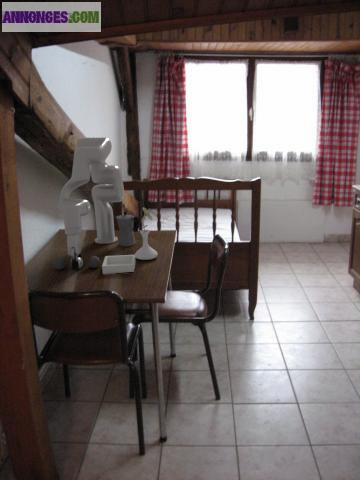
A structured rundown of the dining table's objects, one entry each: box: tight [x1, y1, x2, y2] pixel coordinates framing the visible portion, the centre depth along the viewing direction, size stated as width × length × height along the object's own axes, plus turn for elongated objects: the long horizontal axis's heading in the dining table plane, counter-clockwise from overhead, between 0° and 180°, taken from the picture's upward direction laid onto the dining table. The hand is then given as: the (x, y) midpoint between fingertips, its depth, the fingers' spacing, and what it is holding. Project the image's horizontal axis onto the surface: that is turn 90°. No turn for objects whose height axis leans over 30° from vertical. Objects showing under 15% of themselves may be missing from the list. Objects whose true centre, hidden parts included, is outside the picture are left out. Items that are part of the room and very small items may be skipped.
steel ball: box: [78, 257, 84, 269], centre depth 222 cm, size 6×6×6 cm
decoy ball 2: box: [87, 255, 101, 269], centre depth 222 cm, size 6×6×6 cm
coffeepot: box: [114, 211, 141, 247], centre depth 254 cm, size 15×9×18 cm, turn 62°
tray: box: [101, 254, 136, 275], centre depth 220 cm, size 14×14×4 cm
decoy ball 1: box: [53, 257, 67, 270], centre depth 222 cm, size 6×6×6 cm
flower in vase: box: [134, 206, 159, 261], centre depth 231 cm, size 13×11×25 cm
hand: (77, 265), depth 222 cm, fingers open, 8 cm apart
